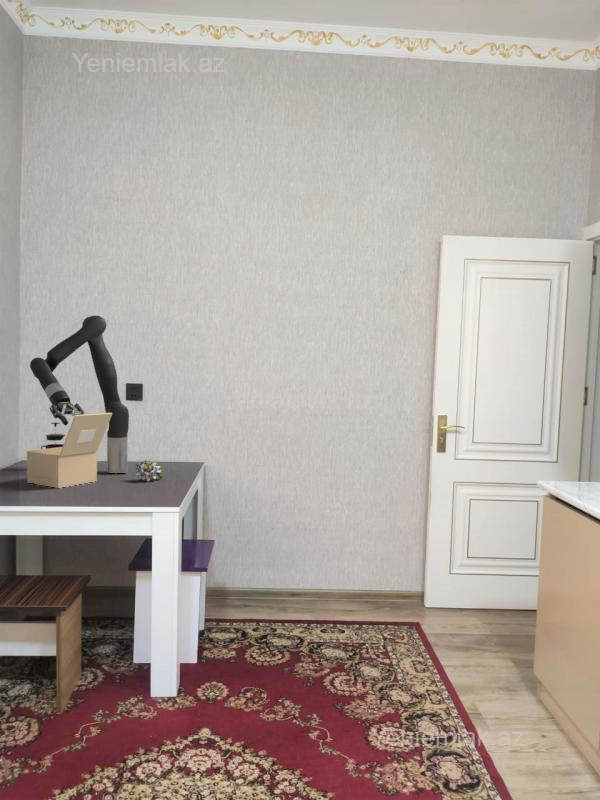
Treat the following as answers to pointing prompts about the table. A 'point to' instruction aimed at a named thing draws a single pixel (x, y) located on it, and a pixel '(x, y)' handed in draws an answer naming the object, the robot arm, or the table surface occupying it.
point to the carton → (61, 468)
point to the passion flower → (148, 470)
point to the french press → (54, 439)
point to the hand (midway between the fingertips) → (75, 423)
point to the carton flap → (85, 433)
